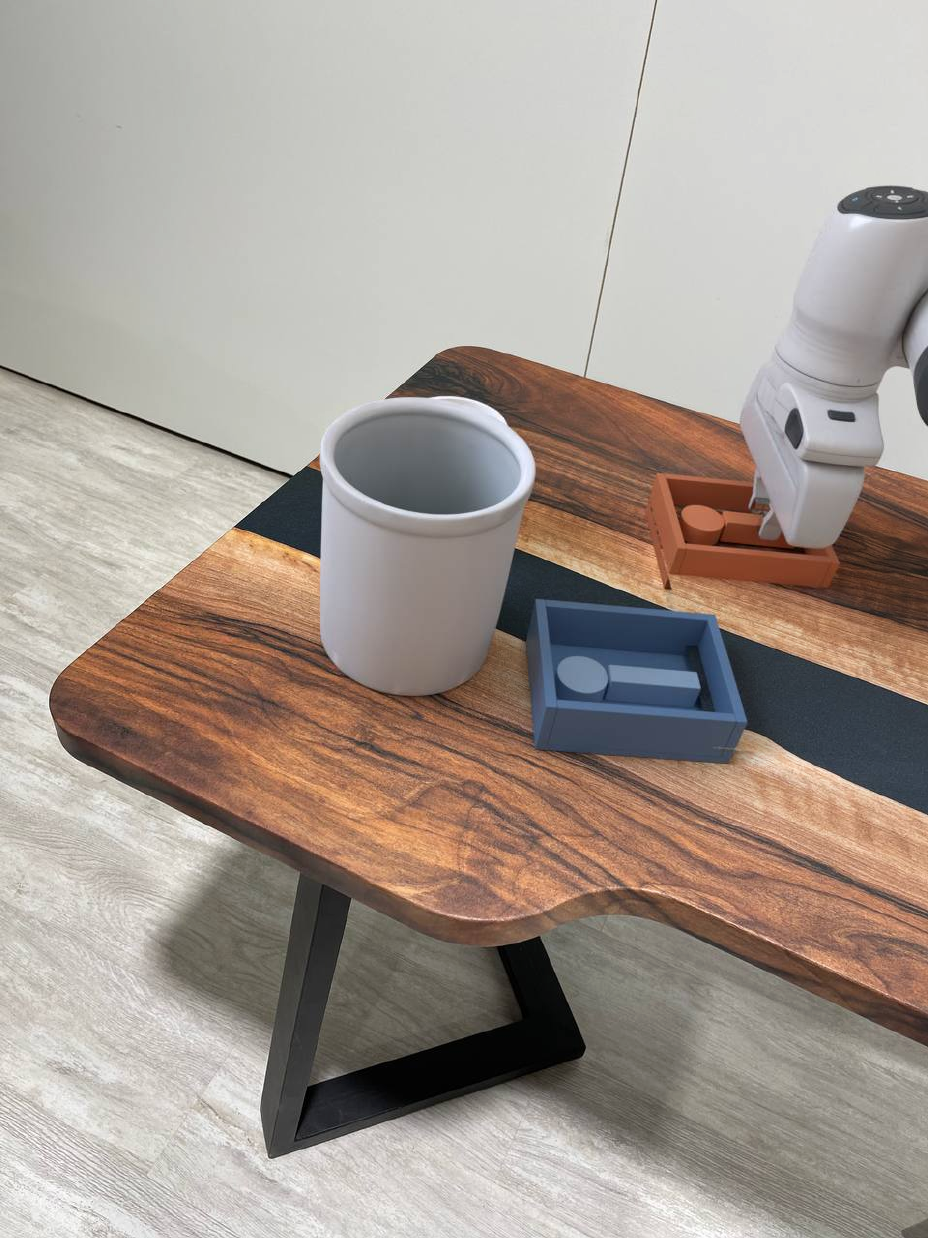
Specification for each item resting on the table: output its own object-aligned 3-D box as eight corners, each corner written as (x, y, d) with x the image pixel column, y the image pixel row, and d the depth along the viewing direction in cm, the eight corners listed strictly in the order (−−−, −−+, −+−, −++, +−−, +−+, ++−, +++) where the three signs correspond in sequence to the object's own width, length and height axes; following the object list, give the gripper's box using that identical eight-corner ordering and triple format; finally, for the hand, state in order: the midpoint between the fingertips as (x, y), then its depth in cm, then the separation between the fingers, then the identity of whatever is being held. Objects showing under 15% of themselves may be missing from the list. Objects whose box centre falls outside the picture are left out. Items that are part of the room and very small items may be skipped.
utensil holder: (517, 699, 77) (561, 514, 66) (322, 711, 74) (332, 517, 62) (477, 575, 88) (509, 397, 76) (304, 580, 85) (310, 394, 73)
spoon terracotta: (786, 530, 96) (794, 511, 94) (796, 556, 93) (805, 537, 91) (672, 518, 95) (679, 499, 93) (680, 544, 92) (686, 524, 90)
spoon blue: (686, 681, 80) (694, 661, 79) (695, 718, 78) (704, 699, 76) (550, 670, 79) (555, 649, 78) (554, 707, 76) (560, 686, 75)
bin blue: (699, 655, 84) (715, 614, 81) (728, 764, 75) (747, 722, 72) (525, 640, 83) (535, 598, 79) (534, 749, 74) (546, 706, 71)
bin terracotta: (788, 525, 100) (805, 487, 97) (821, 602, 91) (840, 563, 88) (644, 511, 99) (656, 472, 96) (664, 588, 90) (677, 547, 87)
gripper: (751, 329, 91) (707, 459, 100) (812, 453, 76) (753, 593, 85) (818, 337, 92) (768, 465, 101) (892, 462, 77) (825, 600, 86)
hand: (761, 525), depth 93 cm, fingers closed on spoon terracotta, 2 cm apart
